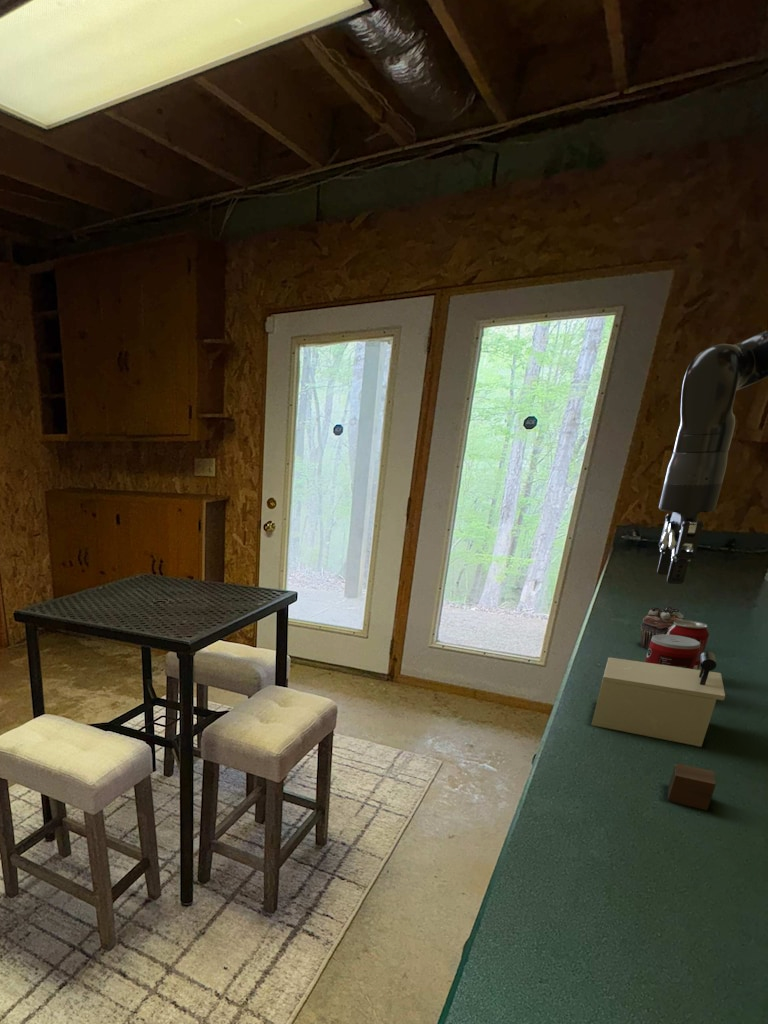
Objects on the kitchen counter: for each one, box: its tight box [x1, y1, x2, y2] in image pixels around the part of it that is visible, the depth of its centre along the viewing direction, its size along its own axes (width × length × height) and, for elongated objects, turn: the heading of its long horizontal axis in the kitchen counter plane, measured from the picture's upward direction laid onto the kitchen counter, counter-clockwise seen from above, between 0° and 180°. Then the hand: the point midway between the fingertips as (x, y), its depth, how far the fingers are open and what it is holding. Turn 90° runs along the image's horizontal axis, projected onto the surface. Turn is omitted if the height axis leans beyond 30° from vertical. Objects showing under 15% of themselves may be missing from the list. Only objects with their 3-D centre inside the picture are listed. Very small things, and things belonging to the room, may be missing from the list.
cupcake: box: [640, 605, 686, 650], centre depth 150 cm, size 10×10×10 cm
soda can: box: [667, 619, 710, 670], centre depth 132 cm, size 7×7×12 cm
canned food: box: [644, 634, 700, 669], centre depth 125 cm, size 8×8×11 cm
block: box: [667, 763, 717, 811], centre depth 89 cm, size 4×4×4 cm
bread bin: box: [591, 680, 717, 748], centre depth 112 cm, size 16×13×9 cm
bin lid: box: [601, 651, 726, 701], centre depth 109 cm, size 16×13×5 cm
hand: (669, 578), depth 109 cm, fingers open, 8 cm apart
